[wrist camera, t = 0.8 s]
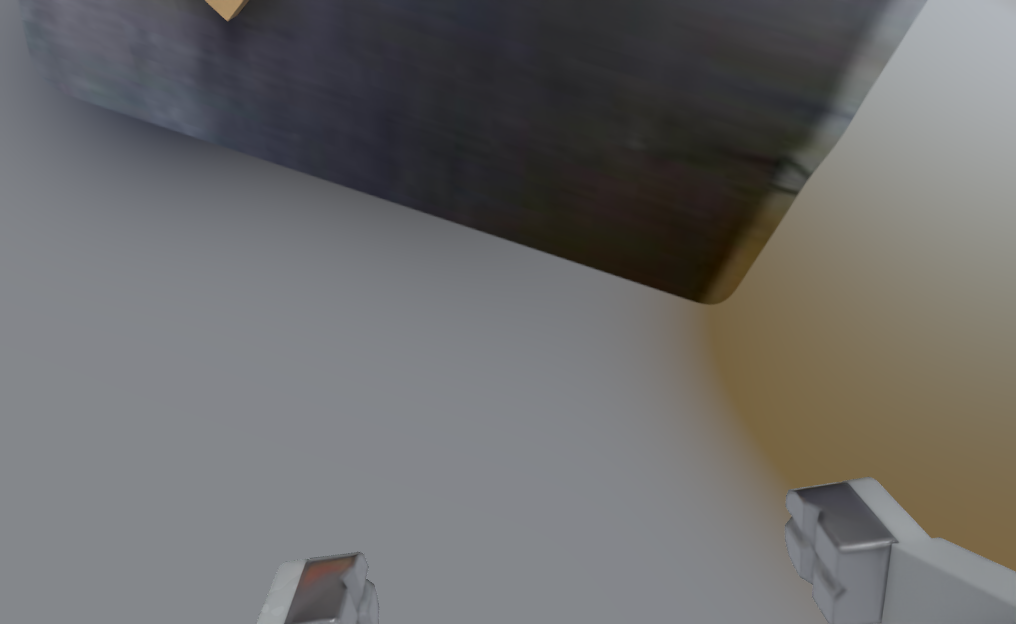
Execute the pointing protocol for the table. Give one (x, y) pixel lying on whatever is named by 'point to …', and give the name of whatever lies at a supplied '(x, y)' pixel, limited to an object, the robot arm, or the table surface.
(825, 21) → the table surface
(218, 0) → the holder
